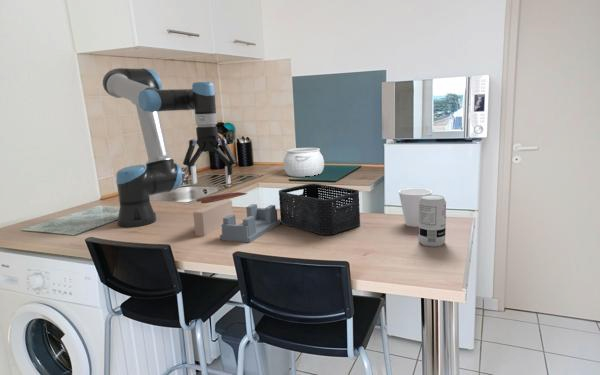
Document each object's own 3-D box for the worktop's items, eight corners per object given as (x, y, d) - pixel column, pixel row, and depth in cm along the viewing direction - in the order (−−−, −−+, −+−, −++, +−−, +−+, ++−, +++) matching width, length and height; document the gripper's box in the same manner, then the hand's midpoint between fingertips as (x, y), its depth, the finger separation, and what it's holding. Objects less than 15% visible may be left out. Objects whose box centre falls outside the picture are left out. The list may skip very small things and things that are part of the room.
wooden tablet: (205, 204, 207) (205, 201, 207) (195, 202, 215) (194, 198, 214) (249, 195, 225) (249, 192, 225) (239, 192, 232) (238, 189, 232)
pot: (325, 177, 264) (324, 150, 261) (282, 179, 265) (281, 152, 262) (323, 170, 292) (322, 146, 289) (285, 171, 293) (283, 148, 290)
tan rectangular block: (195, 235, 156) (193, 212, 155) (225, 221, 175) (223, 199, 173) (204, 236, 155) (202, 212, 153) (233, 221, 173) (231, 200, 171)
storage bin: (276, 222, 169) (274, 189, 166) (313, 213, 181) (312, 182, 178) (326, 238, 147) (325, 200, 144) (364, 225, 159) (363, 190, 157)
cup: (409, 218, 166) (409, 186, 163) (437, 223, 157) (438, 190, 155) (392, 225, 158) (392, 192, 155) (421, 230, 149) (421, 196, 147)
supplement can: (414, 239, 140) (415, 195, 137) (439, 238, 141) (439, 193, 138) (423, 248, 132) (424, 201, 129) (449, 246, 133) (450, 199, 130)
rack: (220, 239, 150) (218, 219, 149) (253, 221, 172) (251, 203, 170) (250, 242, 145) (248, 221, 144) (280, 223, 167) (279, 204, 166)
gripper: (170, 127, 153) (175, 185, 157) (235, 125, 148) (239, 185, 152) (180, 126, 160) (185, 181, 165) (242, 124, 155) (246, 181, 159)
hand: (211, 183), depth 158 cm, fingers open, 13 cm apart
